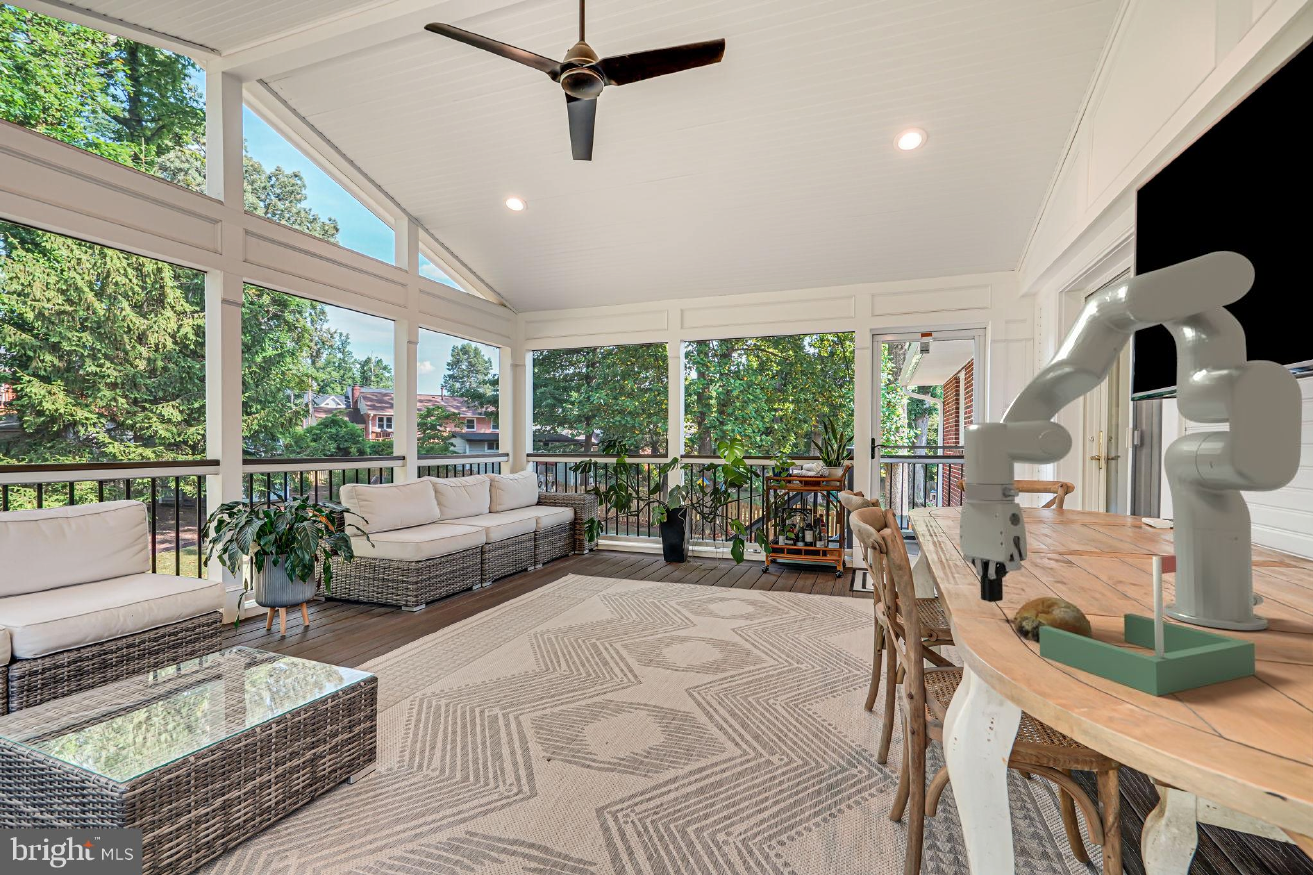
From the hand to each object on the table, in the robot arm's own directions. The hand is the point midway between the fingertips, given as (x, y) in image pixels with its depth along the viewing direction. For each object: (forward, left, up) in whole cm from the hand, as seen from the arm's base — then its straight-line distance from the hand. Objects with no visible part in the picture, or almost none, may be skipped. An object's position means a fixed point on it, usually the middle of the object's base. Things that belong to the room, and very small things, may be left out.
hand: (991, 600), depth 101 cm
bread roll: (0, +11, -3) cm, 11 cm away
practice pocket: (0, +23, -3) cm, 23 cm away
